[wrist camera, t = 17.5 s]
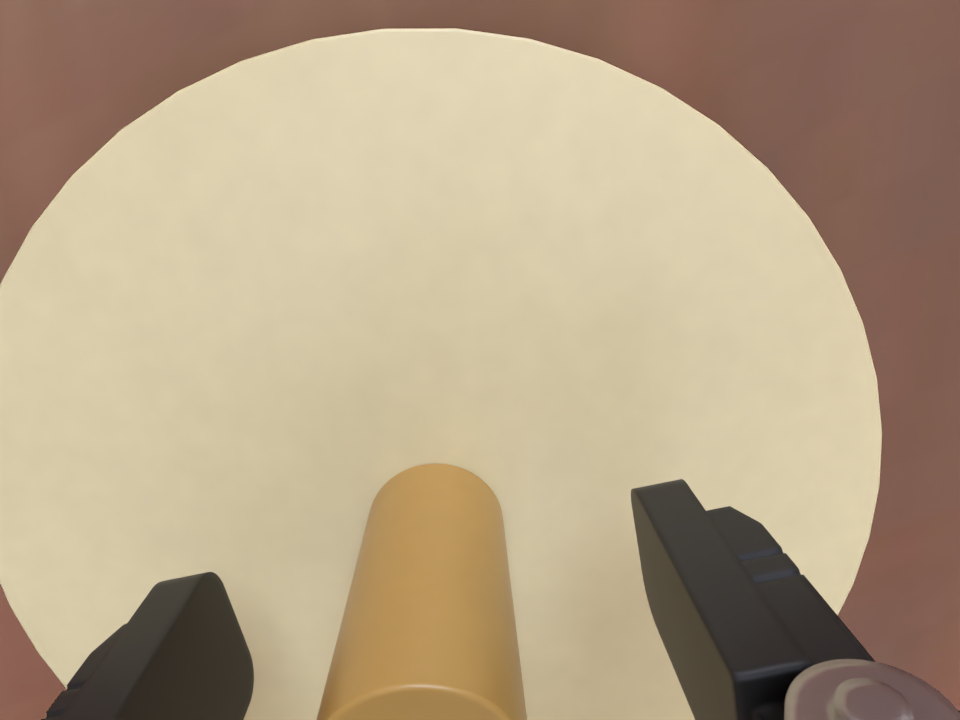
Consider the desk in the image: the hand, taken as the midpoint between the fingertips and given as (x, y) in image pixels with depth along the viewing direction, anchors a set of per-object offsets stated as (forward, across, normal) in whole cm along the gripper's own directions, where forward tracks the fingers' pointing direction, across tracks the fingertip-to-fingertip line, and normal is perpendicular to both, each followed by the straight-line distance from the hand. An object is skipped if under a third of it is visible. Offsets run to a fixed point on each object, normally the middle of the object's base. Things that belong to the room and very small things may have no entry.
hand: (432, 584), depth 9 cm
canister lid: (+2, 0, 0) cm, 2 cm away
